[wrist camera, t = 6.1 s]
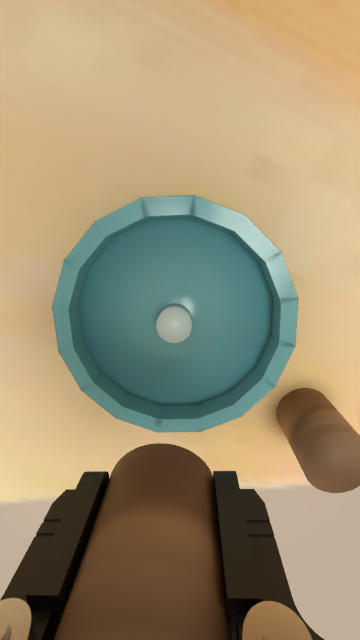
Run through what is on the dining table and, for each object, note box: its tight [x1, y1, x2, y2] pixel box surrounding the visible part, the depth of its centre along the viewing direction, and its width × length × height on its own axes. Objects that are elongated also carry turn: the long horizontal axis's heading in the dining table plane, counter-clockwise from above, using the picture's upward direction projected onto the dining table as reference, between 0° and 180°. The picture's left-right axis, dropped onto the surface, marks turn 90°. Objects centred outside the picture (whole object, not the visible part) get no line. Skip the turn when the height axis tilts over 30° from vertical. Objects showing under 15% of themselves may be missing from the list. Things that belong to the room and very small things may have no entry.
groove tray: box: [52, 195, 298, 432], centre depth 18 cm, size 14×14×2 cm
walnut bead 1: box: [54, 443, 232, 640], centre depth 7 cm, size 4×4×5 cm
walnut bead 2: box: [277, 388, 360, 493], centre depth 18 cm, size 4×4×5 cm
